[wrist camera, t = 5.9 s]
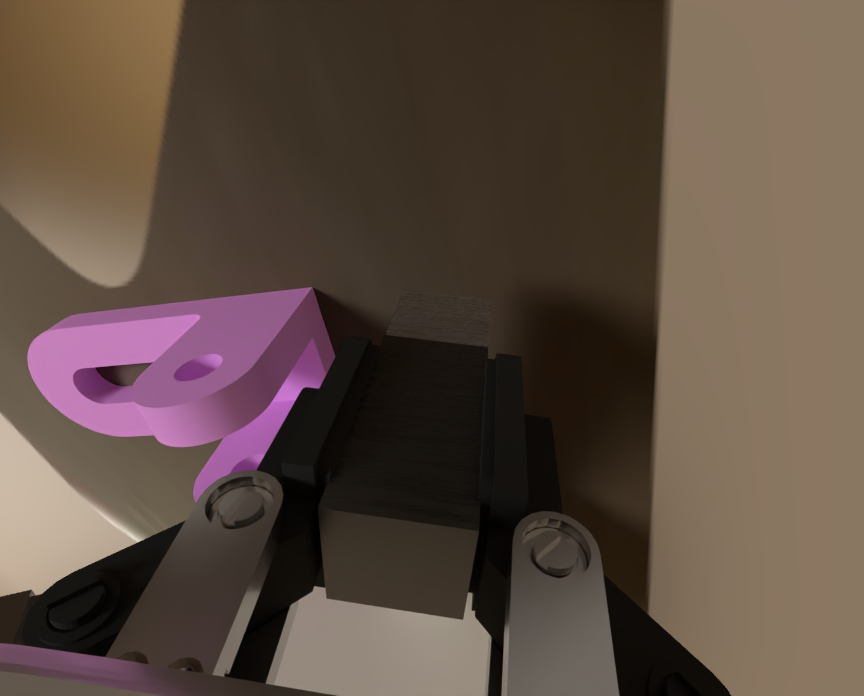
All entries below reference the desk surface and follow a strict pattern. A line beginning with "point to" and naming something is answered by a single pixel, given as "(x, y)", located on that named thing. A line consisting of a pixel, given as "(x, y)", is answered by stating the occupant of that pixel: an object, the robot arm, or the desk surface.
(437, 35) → the desk surface
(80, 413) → the bracket
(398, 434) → the grey upright plate
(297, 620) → the block
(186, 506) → the desk surface
